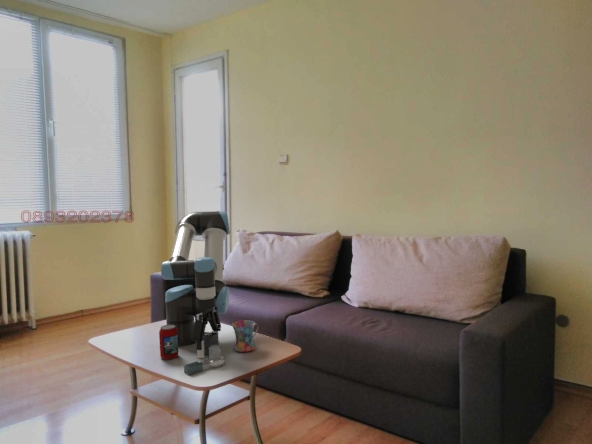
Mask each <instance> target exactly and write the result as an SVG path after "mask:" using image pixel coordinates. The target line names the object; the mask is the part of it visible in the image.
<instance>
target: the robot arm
mask: <svg viewBox="0 0 592 444" xmlns="http://www.w3.org/2000/svg"><path fill="white" fill-rule="evenodd" d="M174 233H175V238H174V242H173V245H172V249H171V253H170V256H169V260H166V261H163V262H162V263H161V267H160V273H161V274H160V275H161V278H162V279H163V280H166V281H167V280H170V281H171V280H172V281H174V280H175V281H176V280H188V279H189V280H191V279H195V280H194V281H195V288H194V286H193V284H184V285H178V286H175V287H172V288H169V289H168V290H166V291H165V295H164V297H165V299H164V303H165V317H166V318H165V320H166V324H165V325H175V327H176V329H177V334H178V347H181V346H188V345H192V344H194V343H196V356H197V357H196V358H199V359H204V358H205V355H204V341H202V340H203V336H204V332H206V326H207V325H208V324H209V326H210V327H211V330H212V331H211V332H212V333H218V334H219V332H221V328H222V325H221V320H220V316H219V315H224V314H226V313H227V311H228V308H229V303H230V288H229V287H228V286H227V284H226V282H224V279H223V277H224V241H225V240H226V239H227V236H228V235H230V233H231V231H230V225H229V217H228V213H227V211H225V210H224V211H223V210H217V211H215V210H214V211H194V212H191V213H188V214H186V215H185V216H183V217H182V218H181V219H180V220H179V221H178V222H177V224H176V227H175V231H174ZM197 236H198V237H201V236H202V239H203V240H204V255H203V256H204V257H198V258H197V257H196V259H193V260H190V259H189V257H190V252H191V248H192V243H193V239H195V237H197ZM219 339H220V338H219V337H218V343H220V341H219Z"/></svg>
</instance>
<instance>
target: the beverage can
mask: <svg viewBox="0 0 592 444" xmlns="http://www.w3.org/2000/svg"><path fill="white" fill-rule="evenodd" d="M158 335H159V337H158V339H159V351H160V352H159V353H160V358H162V359H163V360H172V359H173V360H174V359H175V358H177V356H179V346H178V334H177V329H176V327H175V325H166V324H165V325H162V326H160V329H159V333H158Z"/></svg>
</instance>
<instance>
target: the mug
mask: <svg viewBox="0 0 592 444" xmlns="http://www.w3.org/2000/svg"><path fill="white" fill-rule="evenodd" d="M231 326H232V329H233V332H234V334H235V343H234V347H233V349H234V351H236V352H240V353H246V352H251V351H254V350H255V349H256V344H255V342H254V339H253V338H254V337H255V336H256V335H257V333H258V331H259V327H260V326H259V323H256V322H255V321H253V320H248V319H247V320H246V319H245V320H238V321H234V322H233V323H232V324H231ZM255 326H256V331H254V329H255Z"/></svg>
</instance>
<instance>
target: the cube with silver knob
mask: <svg viewBox="0 0 592 444" xmlns="http://www.w3.org/2000/svg"><path fill="white" fill-rule="evenodd" d="M218 338H219V332H218V333H212V331H204V336H203V340H202V341H204V356H206V357H207V356H208V357H209V347H211V345H214V344H216V345H218V346H219V347H220V344H219V343H220V342H219V343H218Z"/></svg>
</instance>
